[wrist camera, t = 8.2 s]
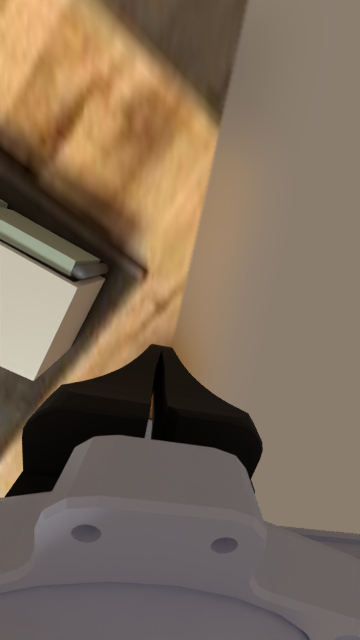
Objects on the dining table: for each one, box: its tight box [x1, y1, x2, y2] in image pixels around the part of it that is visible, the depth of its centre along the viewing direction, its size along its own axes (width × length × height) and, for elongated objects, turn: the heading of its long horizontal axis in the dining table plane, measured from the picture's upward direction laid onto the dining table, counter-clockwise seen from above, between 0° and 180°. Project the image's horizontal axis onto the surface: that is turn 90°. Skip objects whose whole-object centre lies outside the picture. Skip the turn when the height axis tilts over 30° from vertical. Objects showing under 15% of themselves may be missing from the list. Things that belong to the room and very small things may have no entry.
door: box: [0, 207, 109, 279], centre depth 16 cm, size 2×9×5 cm, turn 60°
